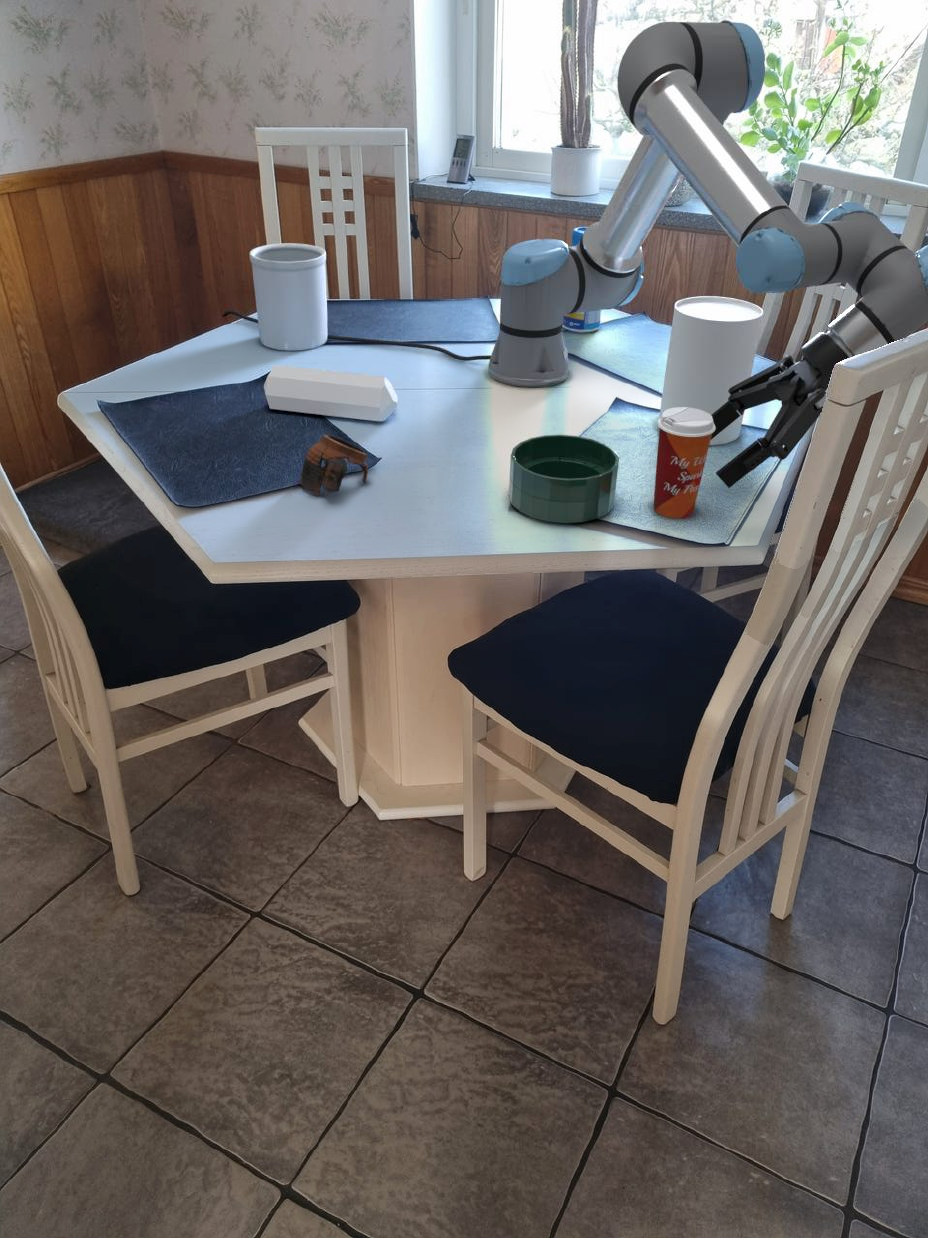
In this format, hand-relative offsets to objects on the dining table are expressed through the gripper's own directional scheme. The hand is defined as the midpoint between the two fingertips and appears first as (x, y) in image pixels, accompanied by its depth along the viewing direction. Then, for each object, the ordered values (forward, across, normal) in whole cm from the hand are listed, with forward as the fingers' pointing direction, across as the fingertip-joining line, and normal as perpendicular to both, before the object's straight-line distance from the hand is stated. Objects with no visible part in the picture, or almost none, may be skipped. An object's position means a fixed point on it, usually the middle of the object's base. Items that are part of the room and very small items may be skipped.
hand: (708, 458), depth 129 cm
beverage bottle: (+9, +84, -2) cm, 85 cm away
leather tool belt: (+43, +8, +32) cm, 54 cm away
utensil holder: (+52, +75, +41) cm, 100 cm away
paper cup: (+8, 0, -3) cm, 9 cm away
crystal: (+45, +37, +34) cm, 67 cm away
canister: (+1, +29, -10) cm, 31 cm away
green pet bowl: (+19, +3, +8) cm, 21 cm away
